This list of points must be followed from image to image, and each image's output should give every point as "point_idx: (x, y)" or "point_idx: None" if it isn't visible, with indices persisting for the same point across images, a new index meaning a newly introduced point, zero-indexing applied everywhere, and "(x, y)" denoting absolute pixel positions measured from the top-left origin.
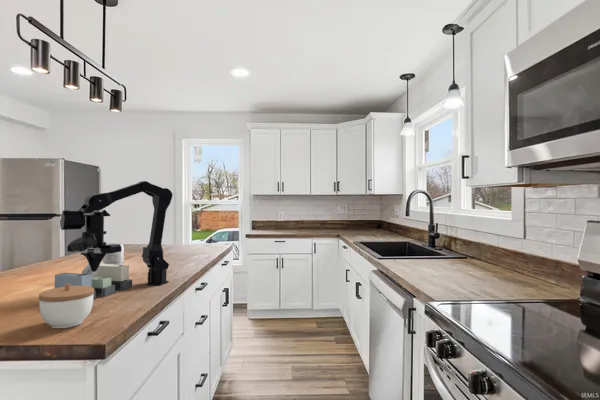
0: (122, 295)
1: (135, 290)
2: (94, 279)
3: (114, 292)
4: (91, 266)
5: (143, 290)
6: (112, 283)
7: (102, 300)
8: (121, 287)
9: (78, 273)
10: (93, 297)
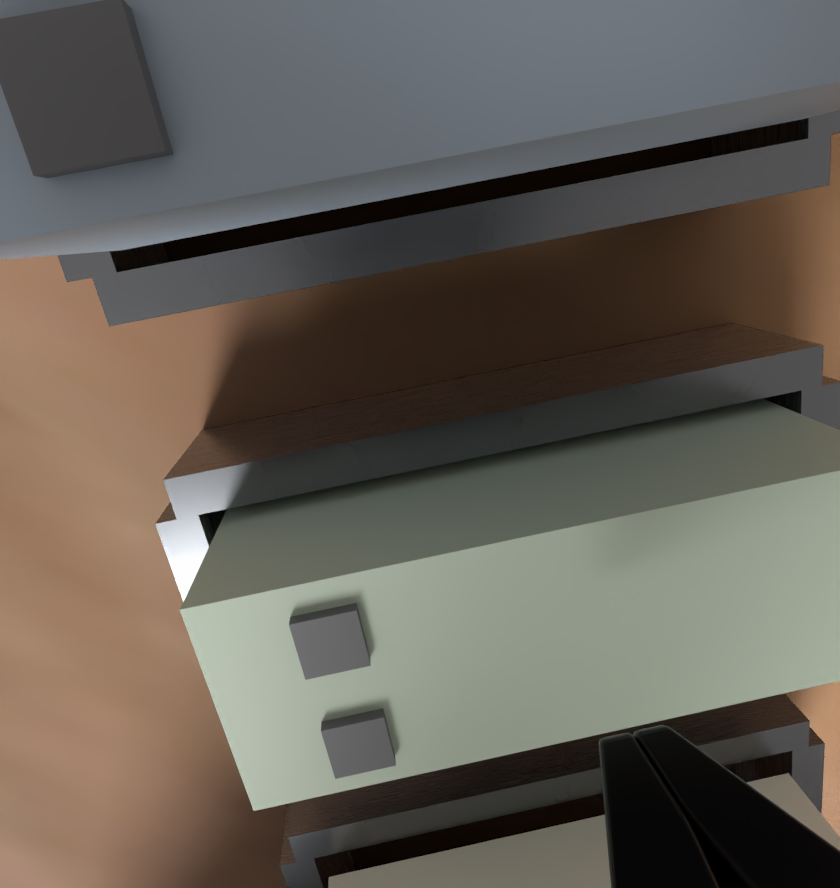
0: (42, 621)
1: (153, 831)
2: (434, 566)
3: None
4: (753, 853)
5: (61, 873)
6: (441, 788)
7: (3, 316)
8: None
9: (588, 133)
10: None
